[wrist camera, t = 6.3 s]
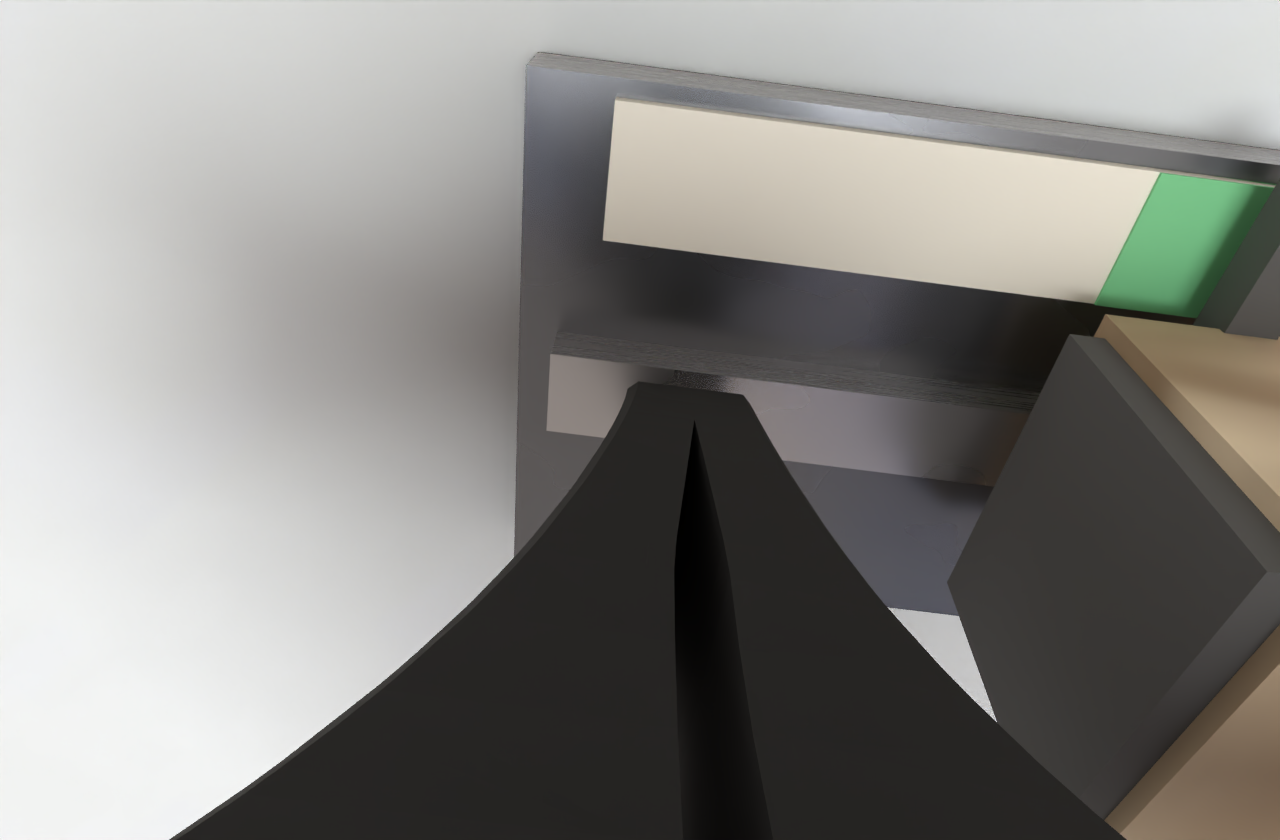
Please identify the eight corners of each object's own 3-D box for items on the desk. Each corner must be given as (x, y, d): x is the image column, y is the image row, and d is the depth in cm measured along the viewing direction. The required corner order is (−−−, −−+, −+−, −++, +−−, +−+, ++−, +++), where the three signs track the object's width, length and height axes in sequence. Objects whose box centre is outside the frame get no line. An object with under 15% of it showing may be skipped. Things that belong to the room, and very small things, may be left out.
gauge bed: (522, 528, 13) (427, 885, 9) (537, 52, 9) (361, 242, 4) (1368, 631, 14) (1730, 1035, 9) (1785, 217, 9) (2950, 574, 4)
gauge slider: (931, 561, 11) (1039, 872, 8) (1126, 143, 8) (1484, 363, 4) (1168, 590, 11) (1384, 913, 8) (1465, 190, 8) (2097, 441, 4)
